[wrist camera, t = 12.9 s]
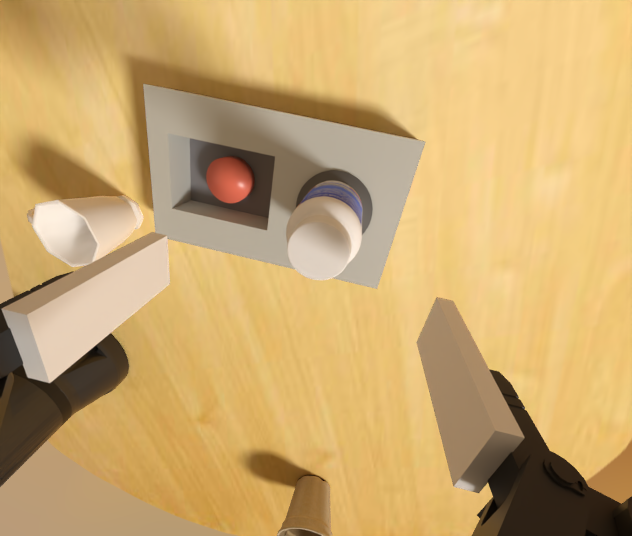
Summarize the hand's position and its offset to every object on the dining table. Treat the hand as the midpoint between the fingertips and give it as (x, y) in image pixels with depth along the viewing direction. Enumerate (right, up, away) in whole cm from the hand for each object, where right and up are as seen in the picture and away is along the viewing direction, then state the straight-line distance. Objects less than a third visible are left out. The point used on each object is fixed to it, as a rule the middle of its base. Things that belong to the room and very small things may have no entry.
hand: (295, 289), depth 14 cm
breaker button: (-7, +10, +16) cm, 21 cm away
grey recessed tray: (-3, +10, +16) cm, 19 cm away
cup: (-23, +8, +21) cm, 32 cm away
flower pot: (+1, -39, +40) cm, 56 cm away
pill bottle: (+3, +6, +12) cm, 14 cm away
